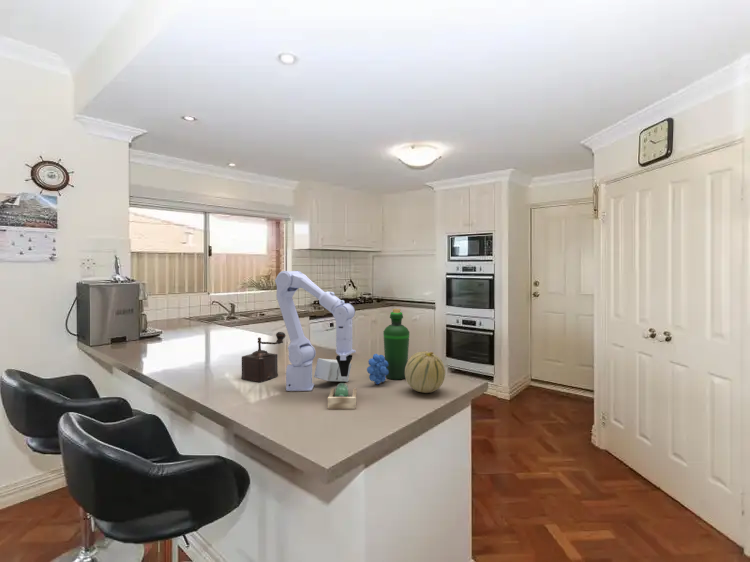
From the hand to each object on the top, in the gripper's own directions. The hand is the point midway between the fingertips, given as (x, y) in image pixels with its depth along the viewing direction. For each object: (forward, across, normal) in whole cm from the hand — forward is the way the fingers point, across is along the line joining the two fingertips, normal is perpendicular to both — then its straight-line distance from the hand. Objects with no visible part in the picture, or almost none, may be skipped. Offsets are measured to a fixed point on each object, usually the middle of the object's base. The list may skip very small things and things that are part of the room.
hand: (344, 376), depth 145 cm
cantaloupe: (+7, +2, -29) cm, 30 cm away
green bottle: (+4, -1, +1) cm, 5 cm away
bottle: (+7, +21, -20) cm, 30 cm away
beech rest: (+6, -8, 0) cm, 10 cm away
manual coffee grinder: (+7, +23, +34) cm, 42 cm away
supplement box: (+3, +18, +1) cm, 18 cm away
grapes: (+7, +11, -13) cm, 18 cm away
